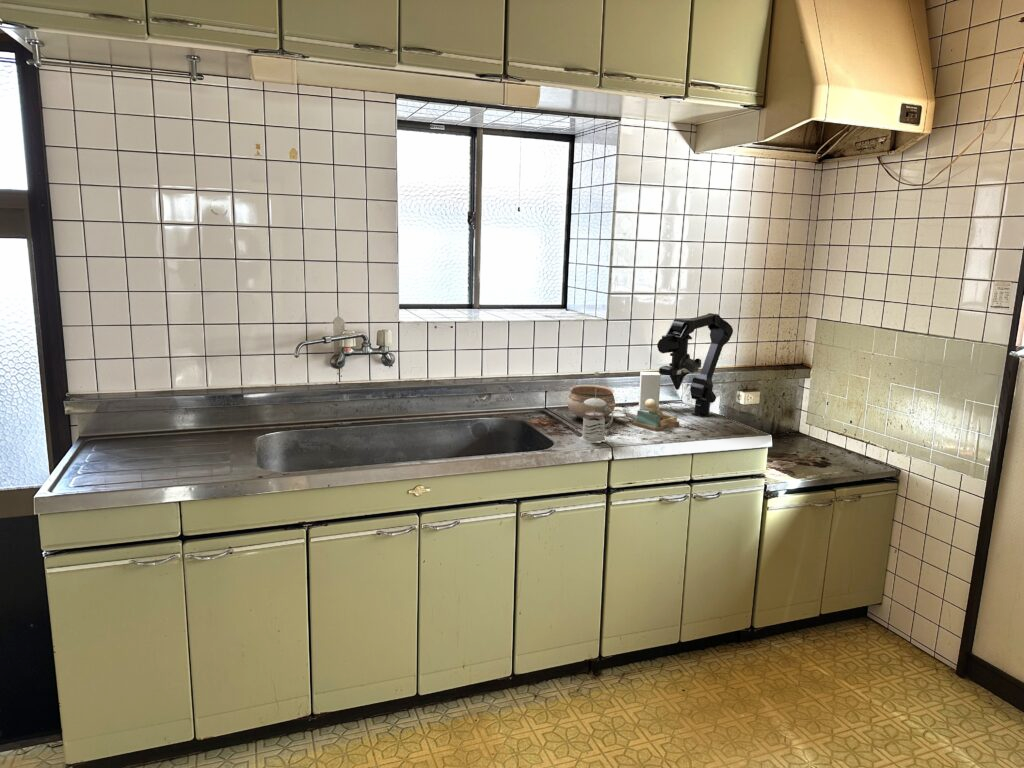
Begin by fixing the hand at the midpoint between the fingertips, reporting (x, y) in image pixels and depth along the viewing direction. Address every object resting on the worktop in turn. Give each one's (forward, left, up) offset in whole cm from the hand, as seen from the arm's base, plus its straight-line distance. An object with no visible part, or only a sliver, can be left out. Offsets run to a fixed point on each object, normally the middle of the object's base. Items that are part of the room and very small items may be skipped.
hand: (677, 389), depth 284 cm
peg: (+11, 0, -10) cm, 15 cm away
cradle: (+13, 0, -13) cm, 18 cm away
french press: (+47, -1, -13) cm, 49 cm away
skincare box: (-7, -18, -13) cm, 23 cm away
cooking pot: (+27, -21, -13) cm, 37 cm away
